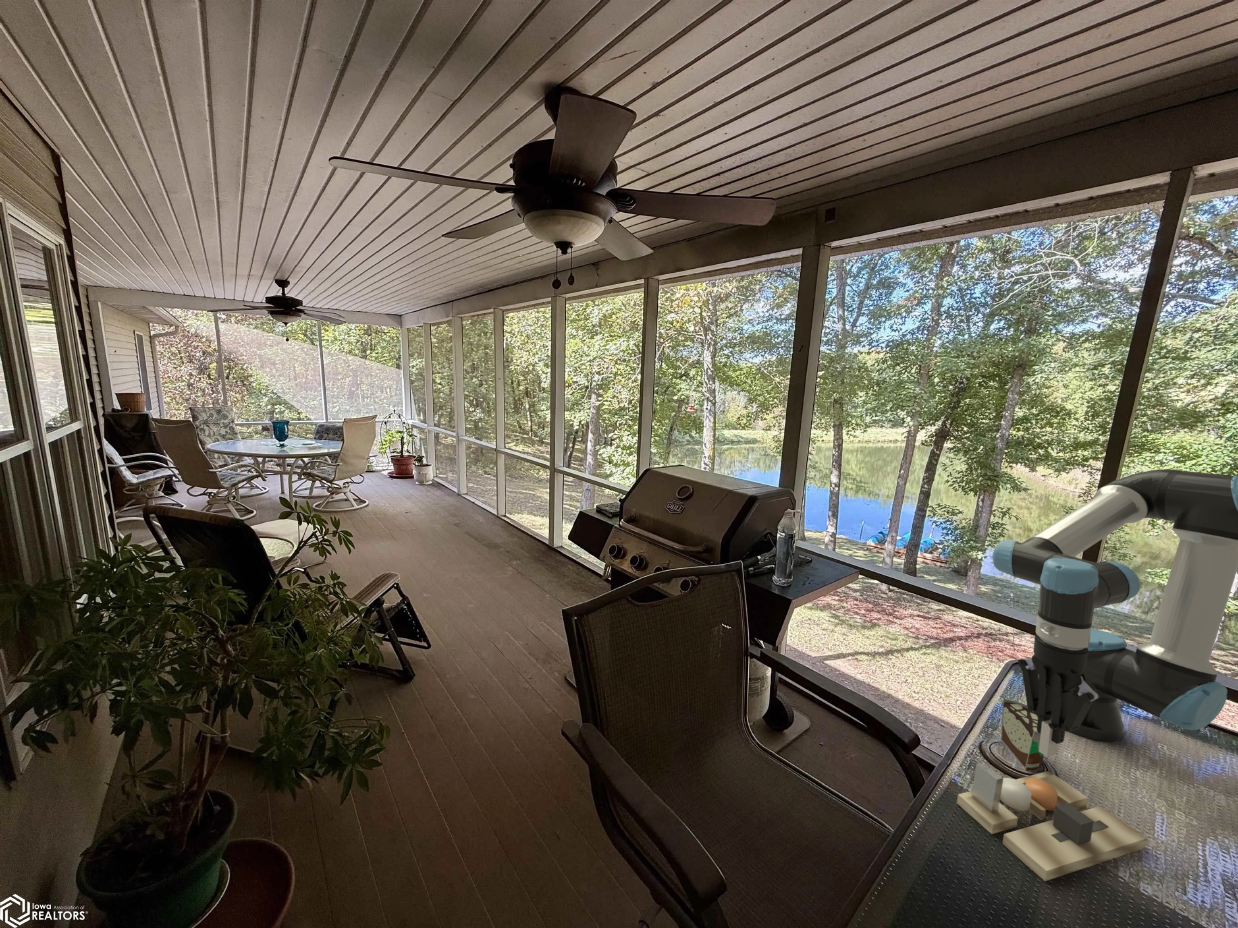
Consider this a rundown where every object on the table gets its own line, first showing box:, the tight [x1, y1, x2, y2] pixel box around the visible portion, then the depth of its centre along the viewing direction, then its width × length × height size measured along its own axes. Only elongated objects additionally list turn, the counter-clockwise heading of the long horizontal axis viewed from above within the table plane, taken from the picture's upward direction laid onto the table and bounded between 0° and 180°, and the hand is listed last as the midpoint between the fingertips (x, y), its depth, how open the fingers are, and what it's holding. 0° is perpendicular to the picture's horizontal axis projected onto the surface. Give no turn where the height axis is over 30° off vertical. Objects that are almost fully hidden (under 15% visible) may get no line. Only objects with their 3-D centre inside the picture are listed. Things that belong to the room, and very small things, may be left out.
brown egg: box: [1025, 778, 1058, 811], centre depth 96 cm, size 5×5×3 cm
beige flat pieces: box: [956, 770, 1148, 882], centre depth 91 cm, size 24×16×2 cm, turn 104°
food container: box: [1000, 698, 1045, 772], centre depth 107 cm, size 12×6×10 cm, turn 168°
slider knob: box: [1053, 803, 1094, 845], centre depth 87 cm, size 3×4×4 cm
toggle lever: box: [971, 762, 1004, 813], centre depth 93 cm, size 2×4×7 cm, turn 14°
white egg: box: [1000, 777, 1031, 812], centre depth 94 cm, size 5×5×3 cm
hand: (1047, 752), depth 94 cm, fingers closed
